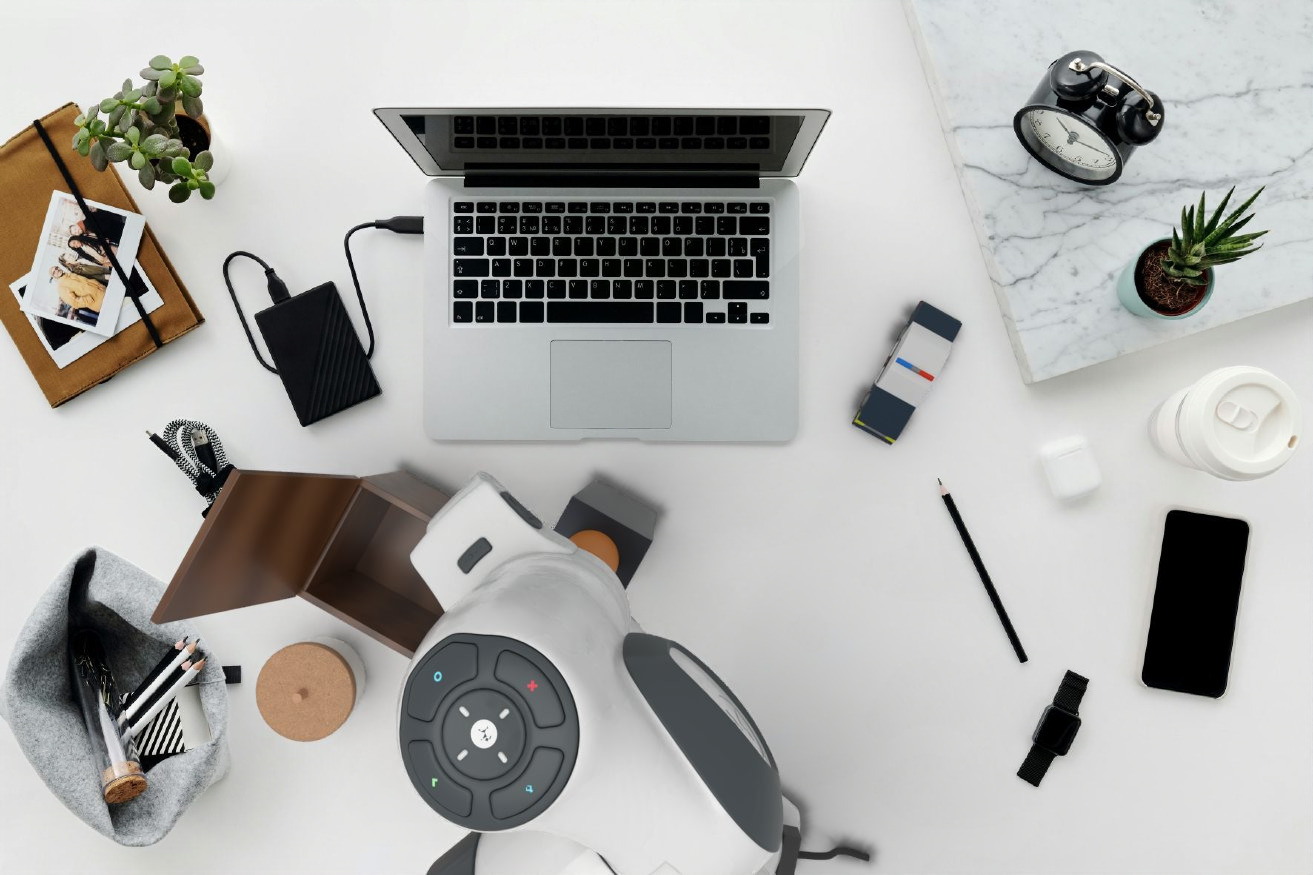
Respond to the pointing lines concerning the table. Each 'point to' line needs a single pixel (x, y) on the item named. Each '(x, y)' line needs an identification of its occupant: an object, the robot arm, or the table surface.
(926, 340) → the toy car
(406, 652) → the chest
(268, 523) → the chest lid
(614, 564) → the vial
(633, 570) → the stand
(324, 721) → the trinket box
